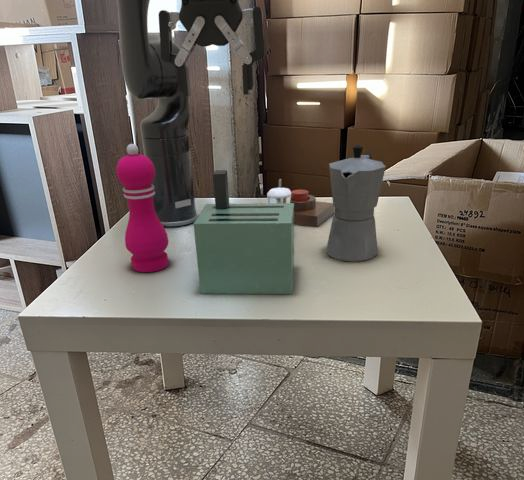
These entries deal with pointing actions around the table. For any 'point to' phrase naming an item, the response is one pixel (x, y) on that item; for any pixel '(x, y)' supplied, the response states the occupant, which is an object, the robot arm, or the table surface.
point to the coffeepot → (354, 206)
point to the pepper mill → (142, 213)
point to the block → (311, 211)
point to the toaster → (245, 248)
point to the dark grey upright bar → (221, 189)
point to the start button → (299, 195)
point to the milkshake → (279, 195)
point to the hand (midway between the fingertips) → (216, 95)
